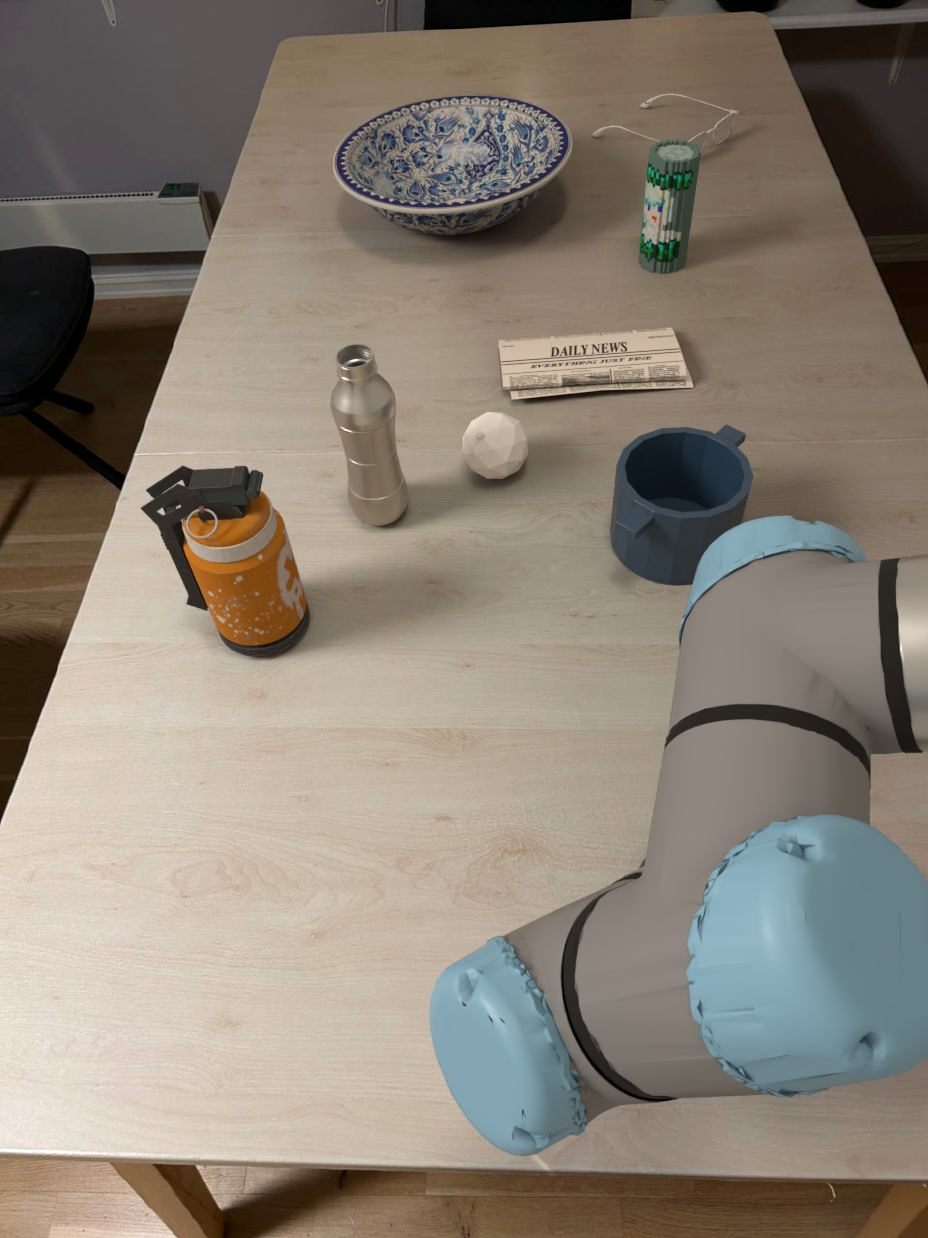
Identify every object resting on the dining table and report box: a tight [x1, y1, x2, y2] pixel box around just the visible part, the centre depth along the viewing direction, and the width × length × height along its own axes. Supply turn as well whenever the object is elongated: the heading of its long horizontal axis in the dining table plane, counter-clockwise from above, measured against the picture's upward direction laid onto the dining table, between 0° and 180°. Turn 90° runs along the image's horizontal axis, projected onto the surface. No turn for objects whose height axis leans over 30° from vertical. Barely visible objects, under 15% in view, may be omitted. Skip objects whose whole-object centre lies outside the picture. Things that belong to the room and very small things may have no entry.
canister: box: [139, 465, 311, 657], centre depth 84 cm, size 9×11×20 cm
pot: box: [609, 424, 754, 586], centre depth 93 cm, size 13×18×10 cm
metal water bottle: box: [329, 343, 409, 527], centre depth 93 cm, size 6×7×20 cm
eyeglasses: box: [592, 93, 739, 153], centre depth 150 cm, size 15×18×4 cm
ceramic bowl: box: [332, 94, 574, 236], centre depth 136 cm, size 34×34×10 cm
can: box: [638, 138, 702, 274], centre depth 123 cm, size 6×6×15 cm
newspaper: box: [497, 327, 694, 400], centre depth 114 cm, size 23×12×2 cm, turn 92°
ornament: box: [461, 411, 529, 480], centre depth 101 cm, size 7×7×8 cm
